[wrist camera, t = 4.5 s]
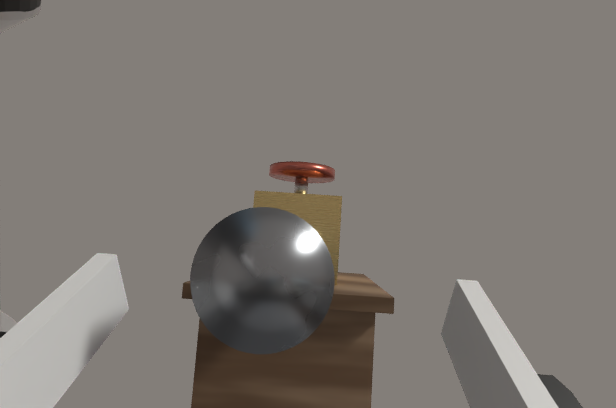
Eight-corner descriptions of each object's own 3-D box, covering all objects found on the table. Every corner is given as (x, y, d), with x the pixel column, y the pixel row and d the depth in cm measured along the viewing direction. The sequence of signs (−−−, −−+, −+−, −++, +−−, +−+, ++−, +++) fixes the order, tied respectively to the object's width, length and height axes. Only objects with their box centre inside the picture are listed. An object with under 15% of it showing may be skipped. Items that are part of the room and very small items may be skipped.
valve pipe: (371, 363, 10) (386, 53, 11) (143, 345, 10) (176, 43, 11) (331, 273, 34) (337, 178, 35) (263, 269, 34) (270, 174, 35)
